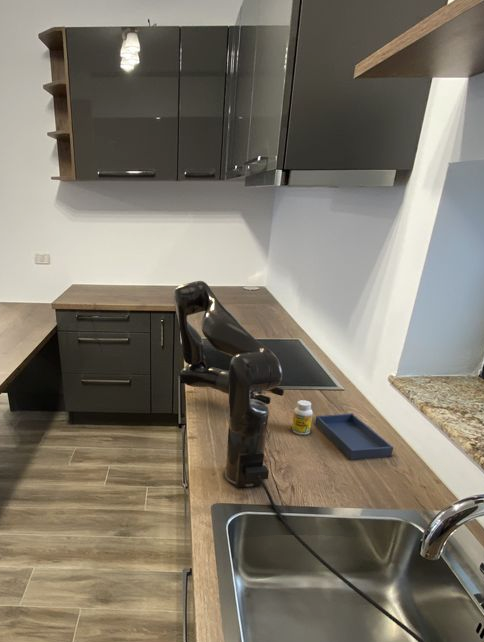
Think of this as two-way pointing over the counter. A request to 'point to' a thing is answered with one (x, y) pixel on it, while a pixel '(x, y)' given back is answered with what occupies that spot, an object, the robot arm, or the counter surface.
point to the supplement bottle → (302, 418)
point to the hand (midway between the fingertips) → (276, 396)
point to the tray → (353, 436)
